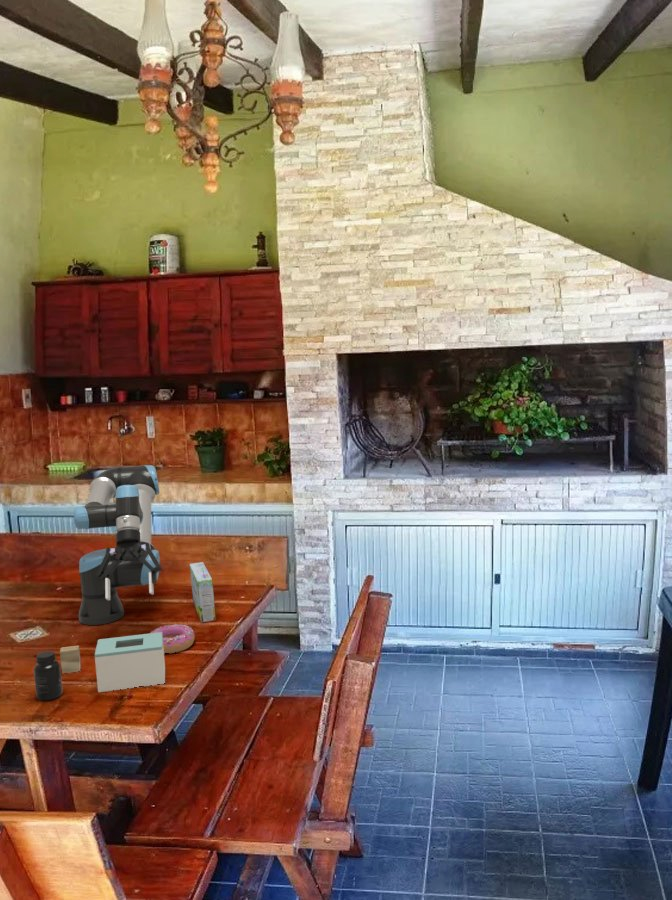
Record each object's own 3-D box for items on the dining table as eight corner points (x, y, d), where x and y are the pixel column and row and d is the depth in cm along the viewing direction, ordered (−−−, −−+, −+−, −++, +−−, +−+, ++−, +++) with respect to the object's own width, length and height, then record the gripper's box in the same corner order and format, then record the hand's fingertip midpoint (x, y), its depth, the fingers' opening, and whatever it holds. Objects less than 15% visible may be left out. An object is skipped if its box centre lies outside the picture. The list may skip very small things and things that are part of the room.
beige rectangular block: (63, 669, 231) (61, 647, 230) (81, 667, 232) (78, 645, 230) (62, 674, 228) (59, 651, 227) (80, 672, 229) (77, 649, 228)
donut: (204, 642, 247) (203, 627, 246) (172, 659, 235) (171, 643, 235) (171, 634, 255) (170, 619, 254) (138, 650, 243) (137, 635, 242)
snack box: (191, 603, 282) (188, 563, 280) (207, 601, 284) (204, 561, 282) (200, 623, 262) (197, 580, 260) (216, 621, 264) (213, 578, 262)
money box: (101, 675, 226) (98, 639, 224) (165, 667, 229) (162, 631, 227) (98, 692, 215) (94, 654, 213) (164, 683, 218) (161, 646, 217)
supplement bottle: (67, 694, 215) (63, 653, 213) (44, 704, 210) (39, 661, 208) (55, 687, 219) (50, 647, 217) (31, 696, 214) (27, 655, 212)
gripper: (85, 533, 248) (85, 599, 239) (164, 523, 249) (167, 588, 240) (92, 540, 255) (93, 604, 246) (169, 530, 255) (172, 593, 247)
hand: (129, 596), depth 243 cm, fingers open, 13 cm apart
